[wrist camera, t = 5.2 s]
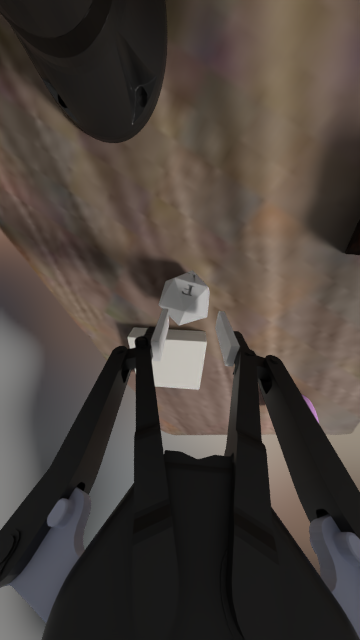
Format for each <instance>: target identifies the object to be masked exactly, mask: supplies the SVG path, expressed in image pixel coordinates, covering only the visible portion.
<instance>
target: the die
mask: <svg viewBox="0 0 360 640" xmlns="http://www.w3.org/2000/svg"><path fill="white" fill-rule="evenodd" d="M209 295H210V292H209V288H208V286H207V285H206V284H205V283H204V282H203V281H202V280H201V279H200V278H199V277H198V275H197V274H196V273H195V272H194V271H190V272H188V273H185V274H183V275H180V276H178V277H175V278H173V279H170V280H168V281H166V282H165V285H164V288H163V292H162V295H161V298H160V301H159V306H160V307H161V308H162V309H163V308H164V309H169V316H170V317H171V318H172V319H173V320H174V321H175V322H176V323H177V324H178V325H182V324H186V323H189V322H192V321H196V320H199V319H202V318H205V317H207V314H208V305H209Z"/></svg>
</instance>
